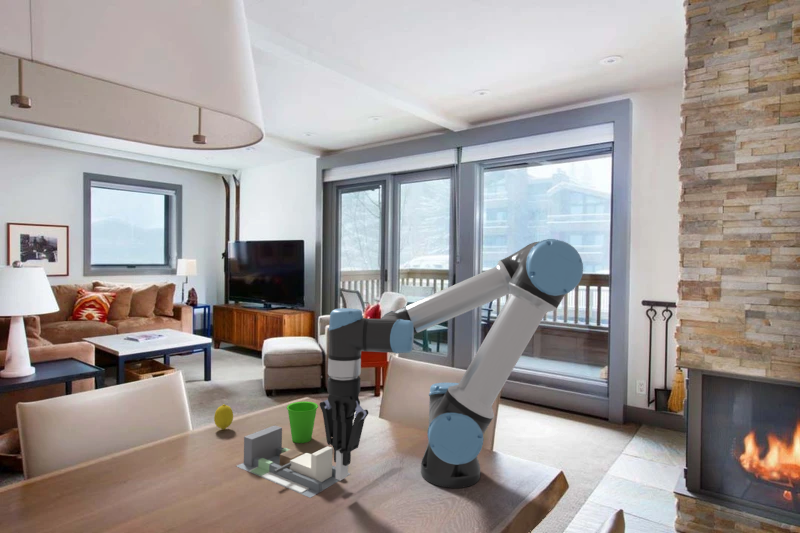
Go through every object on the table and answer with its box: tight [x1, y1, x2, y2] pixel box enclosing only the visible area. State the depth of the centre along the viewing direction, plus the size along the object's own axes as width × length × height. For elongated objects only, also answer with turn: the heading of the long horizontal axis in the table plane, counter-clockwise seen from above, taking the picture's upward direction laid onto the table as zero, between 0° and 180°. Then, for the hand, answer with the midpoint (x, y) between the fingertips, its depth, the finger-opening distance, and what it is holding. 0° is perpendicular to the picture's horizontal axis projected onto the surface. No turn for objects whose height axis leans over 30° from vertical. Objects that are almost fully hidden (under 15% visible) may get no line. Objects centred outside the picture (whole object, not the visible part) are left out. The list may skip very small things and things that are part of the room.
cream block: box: [274, 445, 334, 482], centre depth 108 cm, size 9×11×7 cm
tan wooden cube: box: [280, 448, 304, 469], centre depth 114 cm, size 4×4×4 cm
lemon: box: [213, 403, 234, 431], centre depth 142 cm, size 6×6×8 cm
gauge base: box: [235, 425, 351, 499], centre depth 114 cm, size 26×14×8 cm, turn 57°
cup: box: [286, 401, 319, 444], centre depth 133 cm, size 9×9×11 cm
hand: (341, 477), depth 105 cm, fingers closed
